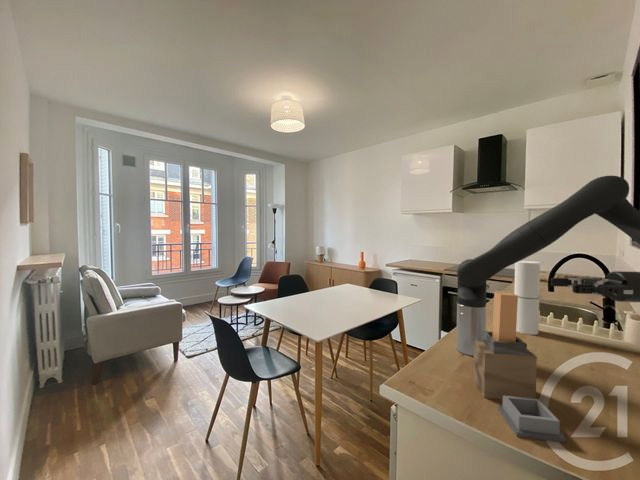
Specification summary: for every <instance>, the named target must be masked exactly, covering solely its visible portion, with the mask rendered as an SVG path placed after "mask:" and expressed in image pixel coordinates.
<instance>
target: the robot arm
mask: <svg viewBox="0 0 640 480" xmlns="http://www.w3.org/2000/svg"><path fill="white" fill-rule="evenodd" d="M629 193H630V186H629V183H628V181H627V180H626V179H625V178H623V177H621V176H618V175H605V176H604V175H602V176H599V177H596V178H594V179H592V180H590V181H589V182H588V183H586V184H585V185H584V186H582V187H581V188H580V189H578V190H577V191H576V192H574V193H573V194H572V195H570V196H569V197H568V198H566V199H565V200H563V201H562V202H560V203H559V204H557V205H556V206H553V207H552V208H549V209H548V210H547V211H545V212H543V213H541V214H539V215H538V216H536V217H534V218H532V219H531V220H529V221H527V222H525V223H524V224H522V225H521V226H519V227H518V228H516V229H514V230H513V231H511V232H510V233H509V234H508V235H506V236H504V237H503V238H502V239H501V240H500V241H499V242H498V243H496V244H495V245H494V246H493V247H491V248H490V249H489V250H487V251H486V252H484V253H482V254H480V255H478V256H476V257H474V258H469V259H465V260H463V261H462V262H461V263H460V264H459V265H458V267H457V271H456V276H457V292H456V341H455V342H456V350H457V351H458V352H460V353H461V354H464V355H467V356H471V357H474V341H482V340H483V331H487V329H486V328H487V281H488V280H490V279H491V278H492V277H494V276H496V275H497V274H498V273H500V272H501V271H502V270H504V269H506V268H507V267H510V266H511V265H515V263H516V262H519V261H524V260H525V259H527V258H529V257H530V256H532V255H534V254H536V253H538V252H540V251H542V250H543V249H545V248H547V247H549V246H550V245H551V244H553V243H555V242H556V241H557V240H559V239H560V238H561V237H563V236H564V235H565V234H566V233H568V232H569V231H571V230H572V228H574V227H575V226H577V225H578V224H579V223H581V222H582V221H584V220H586V219H588V218H590V217H591V216H593V215H596V216H598V217H600V218H602V219H604V220H606V221H607V222H608V223H610V224H611V225H613V226H615V227H616V228H617V229H619V230H621V231H622V232H623V233H624V234H625V235H627V236H628V237H629V238H630V239H632V240H633V241H634V242H636V244H637V245H639V246H640V211H639V210H638V209H637V208H635V206H634V205H633V204H632V203H630V201H629V200H628V199H627V198H628V196H629ZM550 286H552V287H566V288H572V293H573V294H578V295H579V294H585V295H587V294H588V295H594V296H601V297H604V298H610V299H611V300H612V301H615V302H618V303H619V302H621V303H622V302H623V303H625V302H626V303H640V271H618V270H617V271H615V270H614V271H610V272H609V273H607V274H606V275H605V277H599V276H593V277H591V276H573V275H566V276H565V275H564V277H551V278H550Z"/></svg>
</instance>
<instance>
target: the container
mask: <svg viewBox="0 0 640 480" xmlns="http://www.w3.org/2000/svg"><path fill="white" fill-rule="evenodd" d="M540 284H541V262H540V261H533V260H532V261H531V260H521V261H519V262H516V263H514V290H513V291H514V292H513V294H515V295H518V305H517V325H516V333H519V332H520V334H523V335H531V336H534V335H539V324H540V323H539V321H540V320H539V319H540V318H539V317H540V291H541V290H540V288H541V287H540Z"/></svg>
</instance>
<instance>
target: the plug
mask: <svg viewBox="0 0 640 480" xmlns="http://www.w3.org/2000/svg"><path fill="white" fill-rule="evenodd" d="M493 295H494V296H493V313H492V314H493V315H492V332H493V334H492V338H494V339H495V340H496V341H505V342H516V336H517V331H516V325H517V305H518V295H515V294H514V292H512V291H511V292H510V291H498V290H497V291H496V290H494V293H493Z"/></svg>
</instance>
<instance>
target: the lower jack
mask: <svg viewBox="0 0 640 480" xmlns="http://www.w3.org/2000/svg"><path fill="white" fill-rule="evenodd" d="M497 410H498V412H499V413H500V414H501V416H502V417H503V418H504V420H505V422H506V423H507V425H508V426H509V428H510V429H511V430H512V431H513V433H514V435H515V436H516V437H518V438H523V439H525V438H527V439H534V440H543V441H548V440H550V441H551V442H556V441H558V443H566V437H565V436H564V434H562V433H561V432H560V429H561V428H560V426H561V425H560V423H561V422H560V420H559V419H558V417H556V415H554V414H553V413H552V411H551V410H550V409H549V408H548V407H547V406H546V405H545V404H544V403H543V402H542V401H541V400H540V399H539V398H536V399H533V398H523V397H513V396H503V399H502V405H497Z"/></svg>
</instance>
